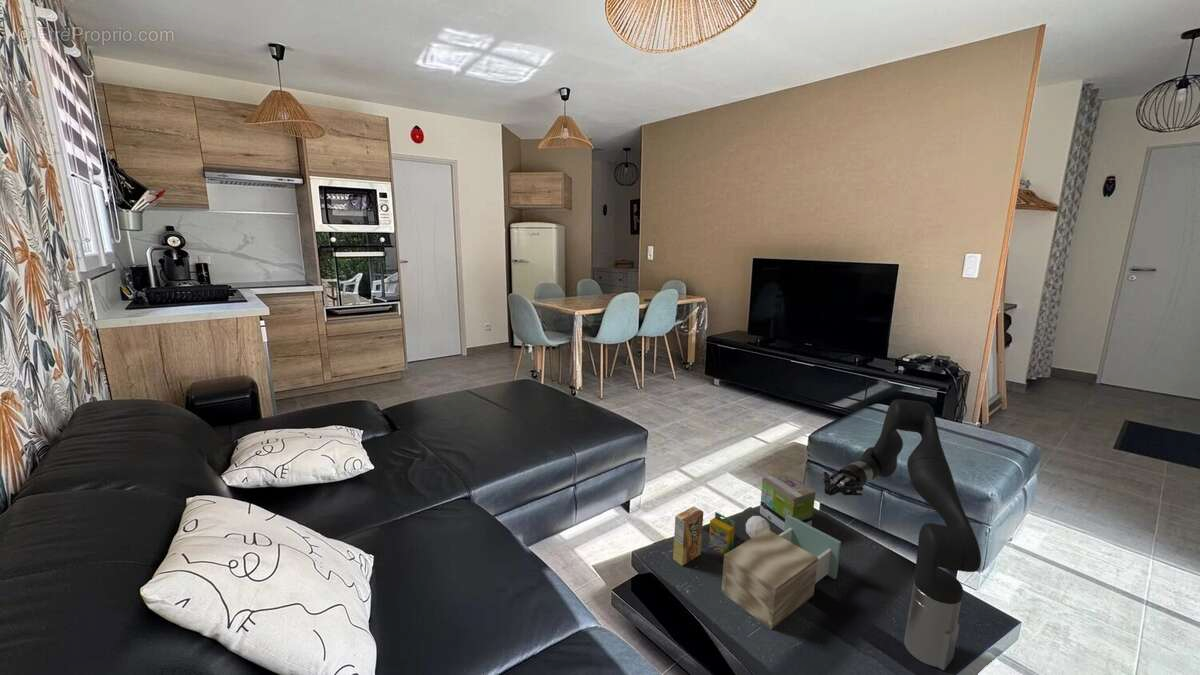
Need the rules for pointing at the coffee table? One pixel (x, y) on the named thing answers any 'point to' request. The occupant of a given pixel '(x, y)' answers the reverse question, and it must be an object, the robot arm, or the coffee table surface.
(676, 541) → the candy box
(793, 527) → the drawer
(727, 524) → the crayon box
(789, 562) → the birch box
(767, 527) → the ball
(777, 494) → the tea box
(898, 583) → the coffee table surface
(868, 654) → the coffee table surface
